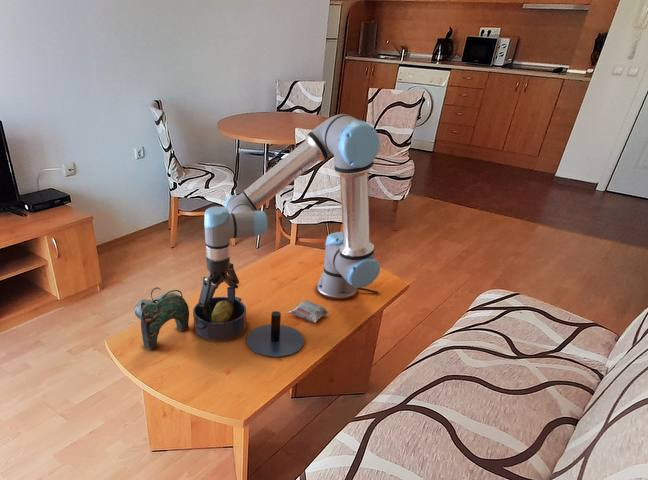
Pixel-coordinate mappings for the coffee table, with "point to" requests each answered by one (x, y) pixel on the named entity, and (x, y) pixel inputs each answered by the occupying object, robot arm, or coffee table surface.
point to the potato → (222, 312)
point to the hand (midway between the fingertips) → (220, 313)
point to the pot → (220, 329)
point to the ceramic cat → (161, 315)
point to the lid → (275, 339)
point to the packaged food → (309, 311)
